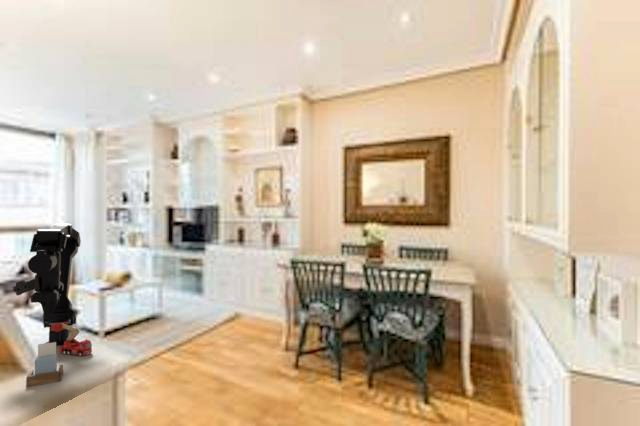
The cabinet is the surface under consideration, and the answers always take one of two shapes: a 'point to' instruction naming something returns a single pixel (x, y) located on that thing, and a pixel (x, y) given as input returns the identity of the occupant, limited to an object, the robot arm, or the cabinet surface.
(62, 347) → the toy fire truck
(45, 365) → the block on wooden base
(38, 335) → the cabinet surface
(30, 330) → the cabinet surface
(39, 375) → the dock
